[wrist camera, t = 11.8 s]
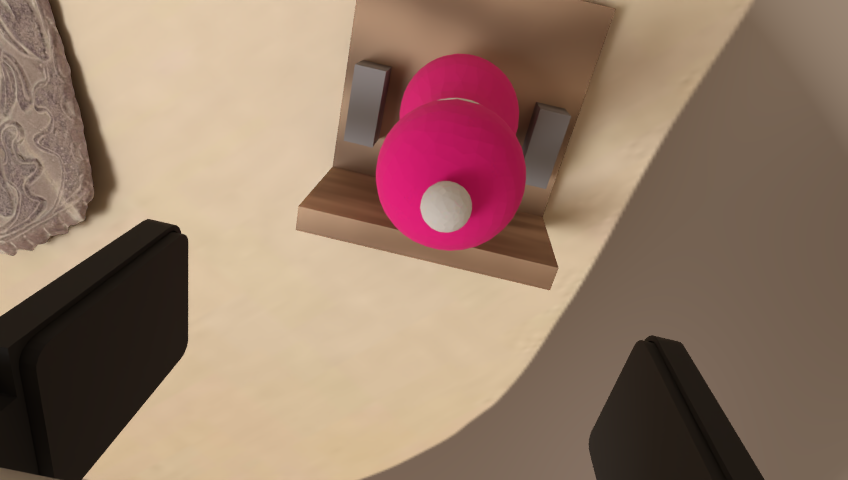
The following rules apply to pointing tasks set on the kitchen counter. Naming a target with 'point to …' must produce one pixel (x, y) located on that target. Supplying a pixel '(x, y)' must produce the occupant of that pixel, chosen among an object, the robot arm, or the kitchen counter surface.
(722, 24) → the kitchen counter surface
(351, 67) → the pegged stand
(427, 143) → the pepper mill
